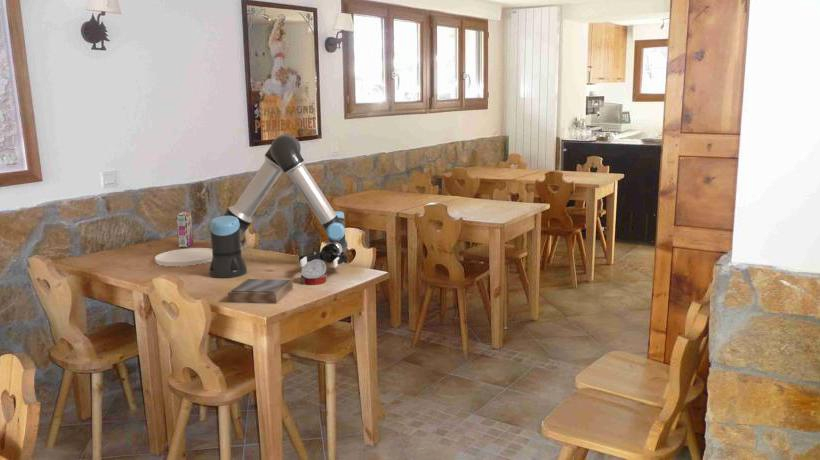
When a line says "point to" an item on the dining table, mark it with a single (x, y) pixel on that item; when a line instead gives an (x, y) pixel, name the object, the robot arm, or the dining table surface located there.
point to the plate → (184, 257)
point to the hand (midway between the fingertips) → (317, 264)
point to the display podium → (260, 291)
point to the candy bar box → (184, 229)
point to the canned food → (314, 273)
